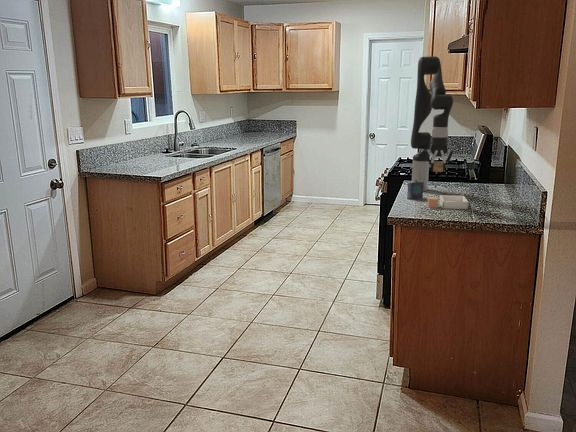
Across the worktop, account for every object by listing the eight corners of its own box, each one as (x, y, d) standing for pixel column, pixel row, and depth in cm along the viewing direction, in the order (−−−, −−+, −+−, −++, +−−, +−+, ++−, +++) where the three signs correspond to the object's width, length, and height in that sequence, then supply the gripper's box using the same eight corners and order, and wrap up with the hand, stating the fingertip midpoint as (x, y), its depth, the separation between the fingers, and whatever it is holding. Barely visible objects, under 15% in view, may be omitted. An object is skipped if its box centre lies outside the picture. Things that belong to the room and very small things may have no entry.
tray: (439, 201, 262) (439, 195, 261) (463, 202, 260) (463, 195, 259) (442, 208, 248) (442, 201, 247) (468, 209, 245) (468, 202, 244)
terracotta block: (427, 205, 254) (427, 197, 253) (436, 206, 253) (437, 197, 252) (428, 207, 249) (428, 199, 248) (437, 208, 249) (438, 199, 248)
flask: (408, 199, 269) (409, 179, 266) (405, 198, 272) (406, 178, 269) (423, 198, 272) (424, 178, 269) (420, 197, 274) (421, 177, 272)
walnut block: (432, 170, 256) (433, 161, 255) (442, 170, 255) (442, 161, 254) (433, 171, 252) (433, 162, 251) (442, 171, 251) (443, 162, 250)
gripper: (454, 135, 252) (451, 169, 256) (424, 135, 255) (422, 169, 259) (455, 136, 244) (453, 171, 249) (425, 136, 247) (423, 171, 252)
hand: (437, 170), depth 254 cm, fingers closed on walnut block, 4 cm apart
